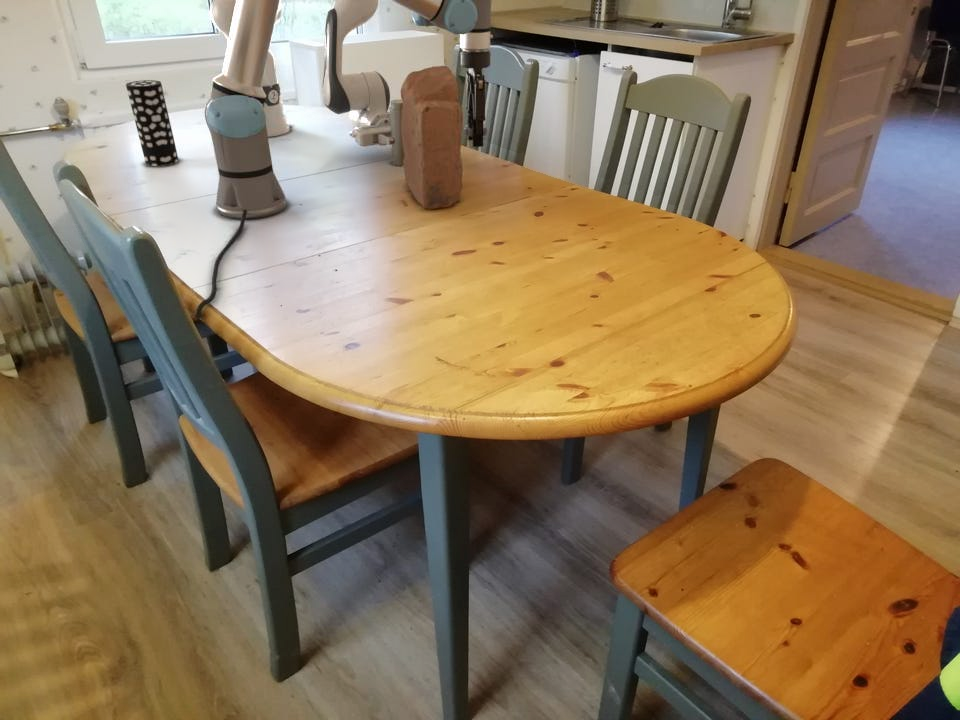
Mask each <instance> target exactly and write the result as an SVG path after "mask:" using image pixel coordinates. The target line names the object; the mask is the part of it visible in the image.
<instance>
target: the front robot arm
mask: <svg viewBox="0 0 960 720" xmlns="http://www.w3.org/2000/svg"><path fill="white" fill-rule="evenodd" d="M391 1H392V2H394V3H396V4H398V5H400V6H402V7H404V8H405V9H407V10H410V11H411V17H412V20H413V23H414V24H415V25H416V26H417V27H426V28H428V27H437V28H438V29H439V28H440V29H442V30H445V31H447V32H449V33H452V34H454V35H459V43H460V44H459V45H460V46H459V47H460V48H461V51H460V66H461V67H462V68H464V69H468V70H466V71H465V75H466V76H465V77H466V107H465V109H466V111H467V114H468V115H467V124H473V137H472V136H467V140H468V141H472V148H479V147H480V148H482V147H484V136H483V124H484V122H485V121H486V83H487V82H486V79H485V75H484V74H483V69H487V68H489V67H490V66H491V50H489V49H490V48H491V40H492V39H493V38H494V37H493V34H491V29H492V28H491V24H492V23H491V22H492V21H491V20H492V19H491V17H492V0H391ZM279 2H280V0H236V5H235V10H234V15H233V21H232V26H231V31H230V36H229V41H227V47H226V52H225V57H224V62H223V66H222V67H223V68H222V73H220V74H219V75H217V76H215V77H214V78H213V79H212V86H211V89H210V96H209V98H208V100H207V102H206V103H205V106H204V107H205V108H204V119H205V123H206V125H207V127H208V128H207V129H208V131H209V133H210V136H211V142H212V147H213V151H214V156H215V161H216V167H217V169H218V170H217V172H218V185H217V193H216V201H215V206H216V210H217V213H218V214H219V215H221V216H223V217H225V218H229V219H236V220H240V223H239V226H238V228H237V231H236V232H235V233H234V234H233V236H232V237H231V238H230V240H229V241H228V243H226V245H225V246H224V247H223V248H222V249H221V251H220V252H219V254H218V255H217V258H216V259H215V262H214V265H213V270H212V276H211V291H210V294H209V296H208V297H207V298H206V299H204V300H202V301H201V302H200V303H198V305H197V308H196V310H195V319H197V320H198V319H200V318H201V314H202V311H203V309H204V307H205V306H206V305H208V304H210V303H211V302H212V301H214V299H215V297H216V294H217V280H218V279H217V278H218V272H219V267H220V264H221V261H222V260H223V257H224V256H225V254H226V253H227V252H228V251H229V249H230V248H231V247H232V246H233V244H234V243H235V241H236V240H237V239H238V237H239V236H240V235H241V233H242V231H243V229H244V226H245V222H246V221H245V220H253V219H260V218H261V219H262V218H265V217H266V218H267V217H270V216H274V215H276V214H278V213H280V212H282V211H283V210H285V209H286V207H287V199H286V194H285V193H284V191H283V189H282V187H281V184H280V182H279V180H278V179H277V177H276V175H275V172H274V167H273V160H272V154H271V148H270V142H269V141H270V140H269V137H268V134H267V128H266V115H265V112H264V110H263V109H264V104H265V99H266V94H265V92H264V91H263V89H262V86H261V85H262V80H263V76H264V71H265V66H266V62H267V57H268V53H269V51H270V48H271V44H272V40H273V39H272V38H273V34H274V29H275V25H276V24H275V21H276V16H277V11H278V7H279Z"/></svg>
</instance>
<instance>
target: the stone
mask: <svg viewBox="0 0 960 720" xmlns="http://www.w3.org/2000/svg"><path fill="white" fill-rule="evenodd" d="M400 98H401V99H402V101H403V108H402V124H401V131H402V144H403V151H404V154H405V157H404V160H403V163H404V166H403V173H404V179H405V182H406V186H407V187H408V188H409V190H410V192H411V193H412V194H413V196H414V198H415V200H416V201H417V202H418V204H420V205H422V206H421V207H423V208H424V209H427V210H428V209H429V210H434V209H437V208H439V209H440V208H448V207H451V206H452V205H454V204H455V203H457V202H458V201H459V200H460V197H461V192H462V188H463V160H462V152H461V148H462V133H463V132H462V131H463V121H464V107H463V106H461V105H460V101H459V98H460V97H459V86H458V82H457V78H456V75H455V74H454V73H453V71H452V69H450V68H449V66H446V65H435V66H431V67H426V68H423V69H421V70H415V71H414V70H413V71H411V72H410V73H408V75H407V76H406V77H405V79H404V81H403V83H402V85H401V87H400Z"/></svg>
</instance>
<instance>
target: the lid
mask: <svg viewBox="0 0 960 720" xmlns="http://www.w3.org/2000/svg"><path fill="white" fill-rule="evenodd" d="M487 134H488V125H487V124H484V123H483V137H484V136H487ZM464 135H465V136H467V137H468V136H472V137H473V124H468V123H467V124H464Z"/></svg>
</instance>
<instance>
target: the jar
mask: <svg viewBox="0 0 960 720" xmlns="http://www.w3.org/2000/svg"><path fill="white" fill-rule="evenodd" d="M402 108H403V101H402V98H401V99H400V98H399V99H398V98H397V99H392V100H390V106H389V112H390V125H391V137H393V139H394V141H393V142H394V144H392V145H391V157H392V165H394V166H397V167H404V163H403V160H404V157H405V154H404V151H403V144H402V131H401V124H402Z"/></svg>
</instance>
